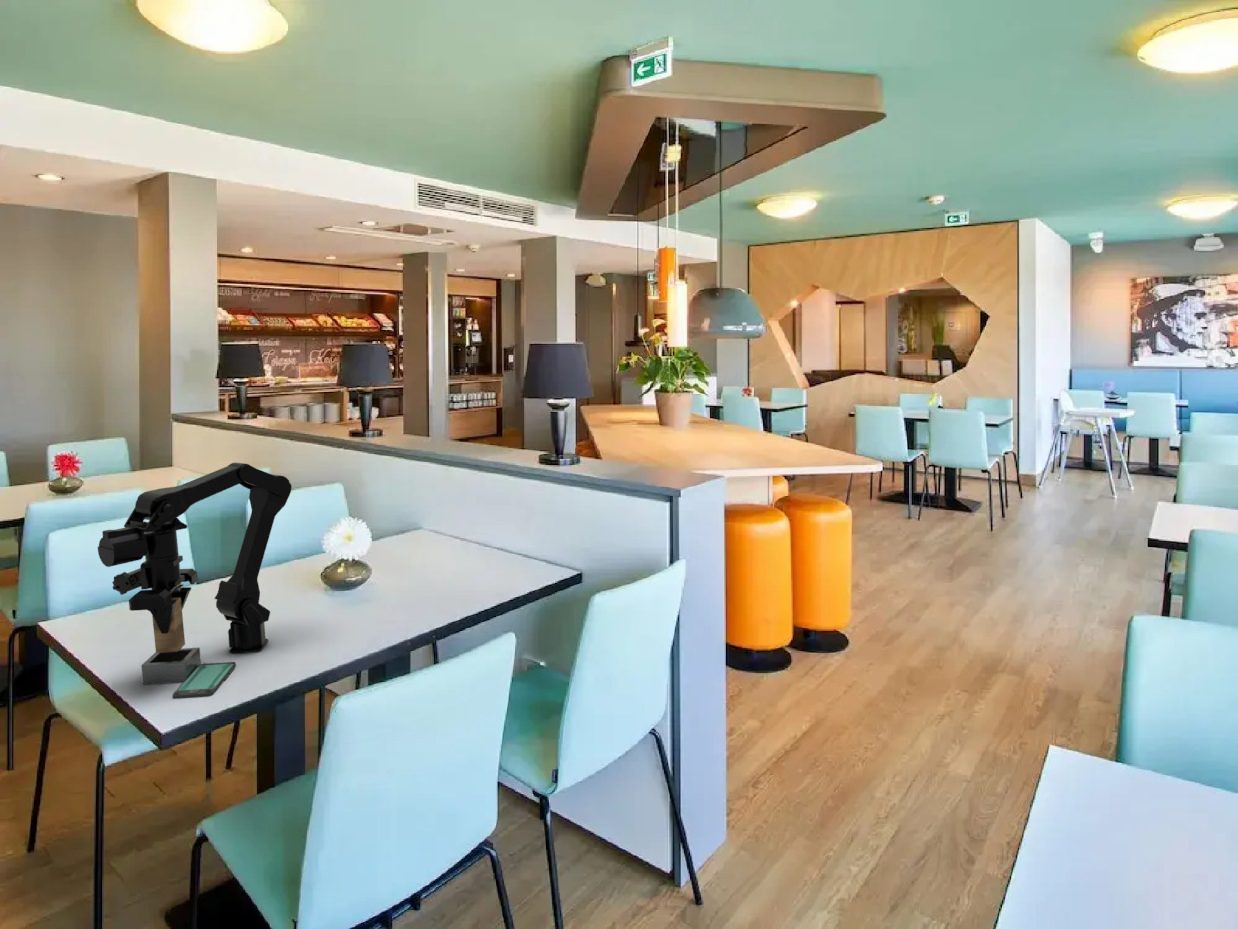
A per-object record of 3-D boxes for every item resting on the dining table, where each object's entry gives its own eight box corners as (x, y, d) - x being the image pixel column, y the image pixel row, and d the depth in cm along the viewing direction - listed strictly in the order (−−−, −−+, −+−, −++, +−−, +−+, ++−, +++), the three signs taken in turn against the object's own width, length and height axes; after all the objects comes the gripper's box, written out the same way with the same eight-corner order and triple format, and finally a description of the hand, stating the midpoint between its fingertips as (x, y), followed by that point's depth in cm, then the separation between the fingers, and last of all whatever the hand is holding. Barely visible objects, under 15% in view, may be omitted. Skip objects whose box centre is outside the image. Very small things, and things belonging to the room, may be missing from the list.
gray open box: (201, 665, 162) (199, 647, 162) (186, 681, 154) (185, 662, 154) (159, 668, 161) (157, 650, 160) (143, 684, 153) (141, 665, 153)
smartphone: (170, 695, 147) (199, 663, 161) (171, 701, 147) (200, 668, 162) (212, 692, 148) (237, 660, 163) (213, 698, 148) (238, 666, 163)
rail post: (185, 644, 159) (180, 597, 158) (177, 651, 155) (173, 603, 154) (164, 645, 159) (159, 598, 157) (156, 653, 155) (151, 604, 153)
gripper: (138, 544, 162) (145, 616, 164) (94, 569, 144) (103, 650, 146) (195, 542, 164) (201, 613, 166) (159, 566, 145) (167, 645, 148)
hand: (169, 629), depth 156 cm, fingers closed on rail post, 4 cm apart
